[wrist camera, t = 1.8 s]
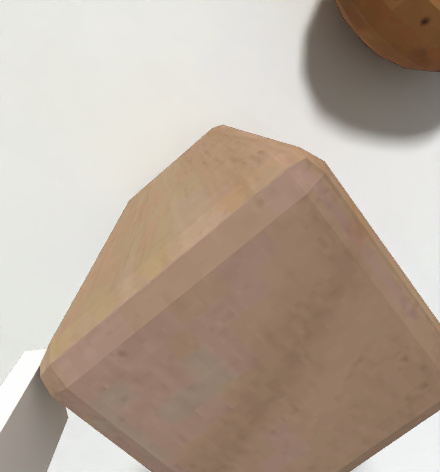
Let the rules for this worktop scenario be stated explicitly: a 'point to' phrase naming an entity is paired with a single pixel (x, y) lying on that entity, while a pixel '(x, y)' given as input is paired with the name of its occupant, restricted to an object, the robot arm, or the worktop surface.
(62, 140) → the worktop surface
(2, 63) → the worktop surface
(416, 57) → the potato
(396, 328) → the wooden block
